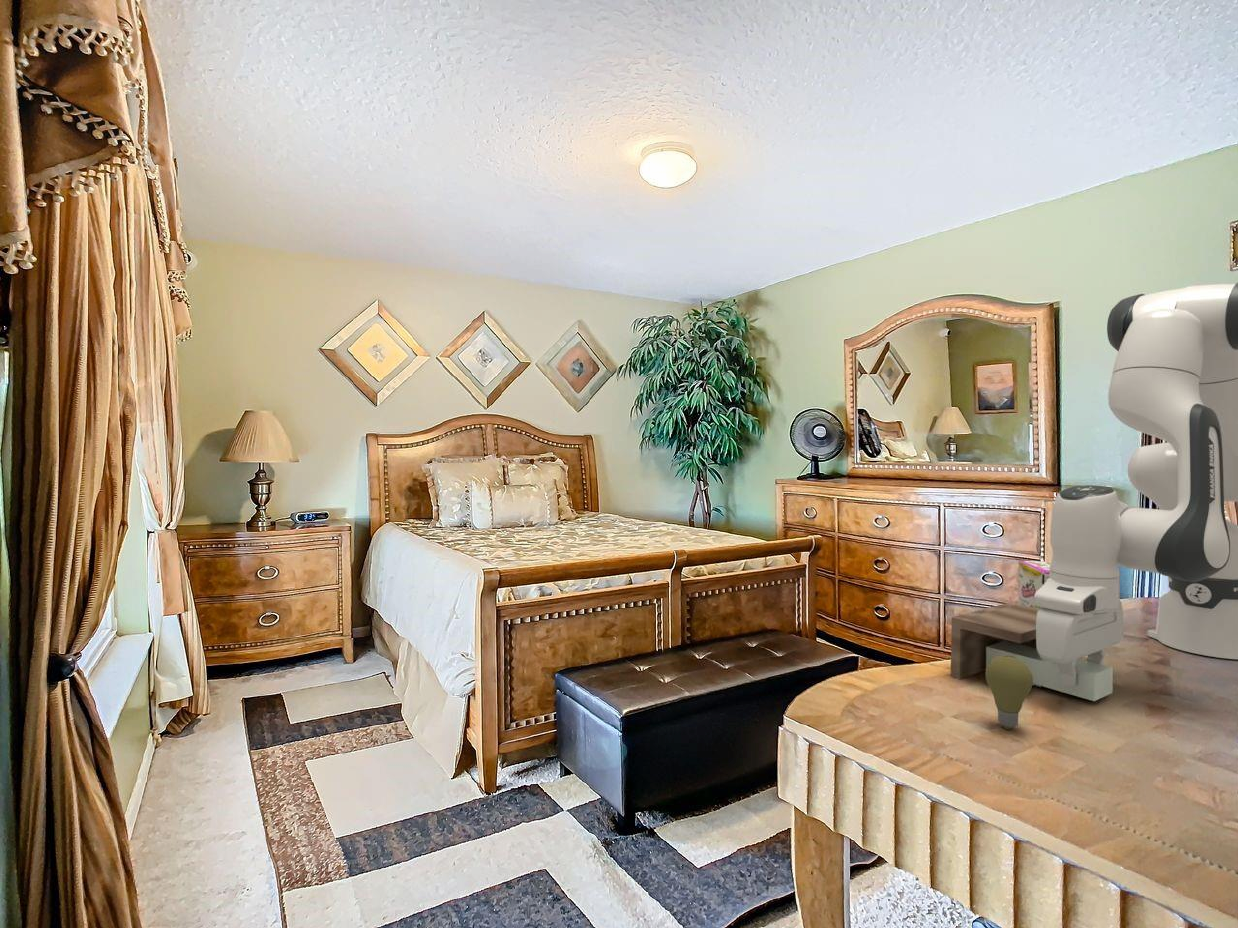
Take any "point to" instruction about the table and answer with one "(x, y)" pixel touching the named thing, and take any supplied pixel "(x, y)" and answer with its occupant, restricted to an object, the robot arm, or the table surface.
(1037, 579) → the candy bar box
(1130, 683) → the table surface
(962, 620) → the walnut shelf
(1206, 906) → the table surface
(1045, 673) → the mint green beam
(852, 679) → the table surface
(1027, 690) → the light bulb
